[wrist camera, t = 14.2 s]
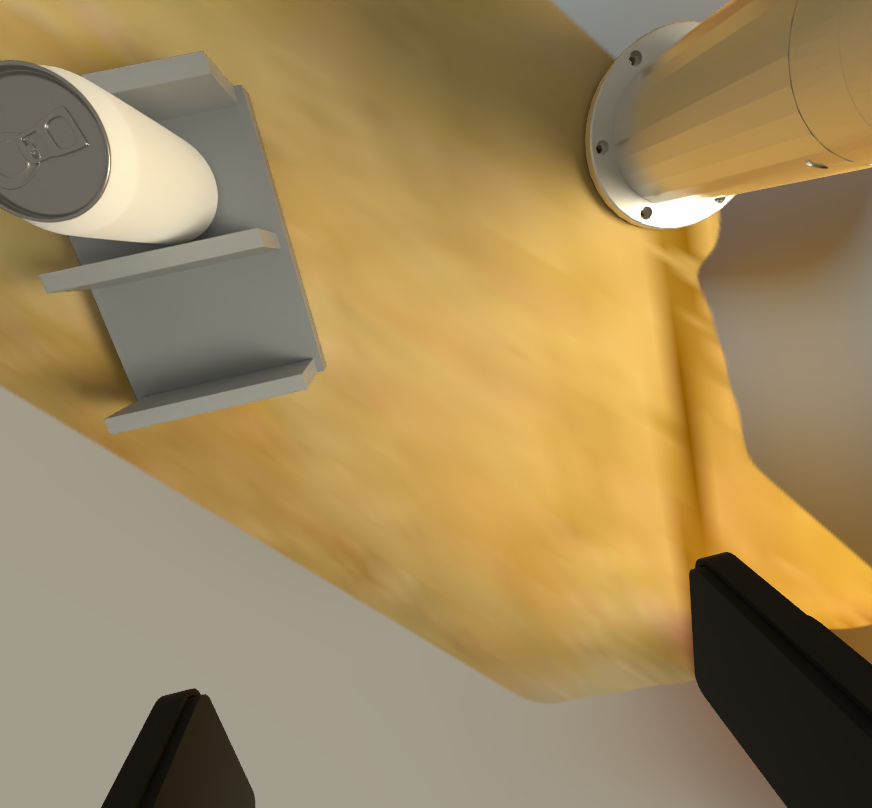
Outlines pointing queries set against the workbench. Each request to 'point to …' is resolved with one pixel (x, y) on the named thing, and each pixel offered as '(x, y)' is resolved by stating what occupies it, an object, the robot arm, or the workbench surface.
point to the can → (95, 162)
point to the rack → (201, 265)
